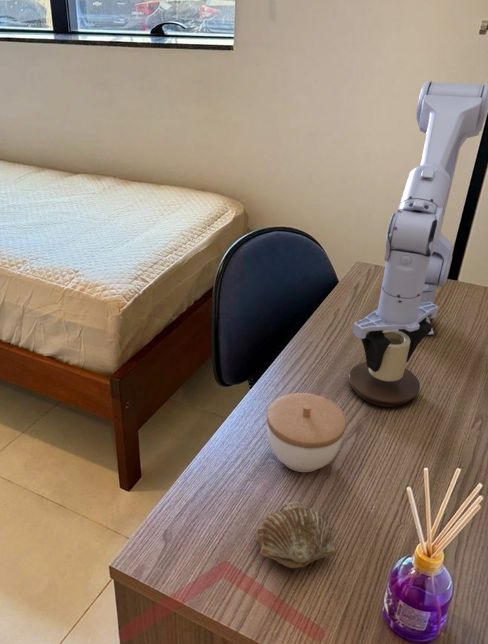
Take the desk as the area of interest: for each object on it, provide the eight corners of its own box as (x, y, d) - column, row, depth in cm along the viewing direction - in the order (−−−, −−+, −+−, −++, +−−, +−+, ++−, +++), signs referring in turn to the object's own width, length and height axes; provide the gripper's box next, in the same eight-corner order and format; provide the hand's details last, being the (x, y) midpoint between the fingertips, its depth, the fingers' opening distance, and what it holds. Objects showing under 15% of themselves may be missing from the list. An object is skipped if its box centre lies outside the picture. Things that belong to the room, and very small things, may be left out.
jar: (367, 360, 100) (373, 328, 96) (400, 363, 99) (407, 330, 95) (370, 379, 95) (376, 346, 92) (405, 382, 94) (412, 348, 91)
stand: (345, 367, 105) (347, 358, 104) (412, 372, 103) (414, 363, 101) (349, 407, 96) (351, 397, 95) (422, 414, 94) (425, 404, 92)
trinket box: (335, 492, 81) (343, 440, 76) (257, 474, 84) (260, 424, 79) (343, 440, 89) (351, 390, 84) (271, 426, 93) (275, 377, 88)
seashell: (337, 582, 70) (320, 523, 77) (349, 547, 66) (330, 488, 72) (258, 583, 70) (248, 525, 76) (265, 548, 66) (254, 490, 72)
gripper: (380, 312, 84) (366, 389, 91) (460, 290, 88) (441, 365, 95) (348, 291, 89) (338, 365, 97) (425, 270, 94) (409, 343, 101)
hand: (387, 363), depth 96 cm, fingers closed on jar, 5 cm apart
